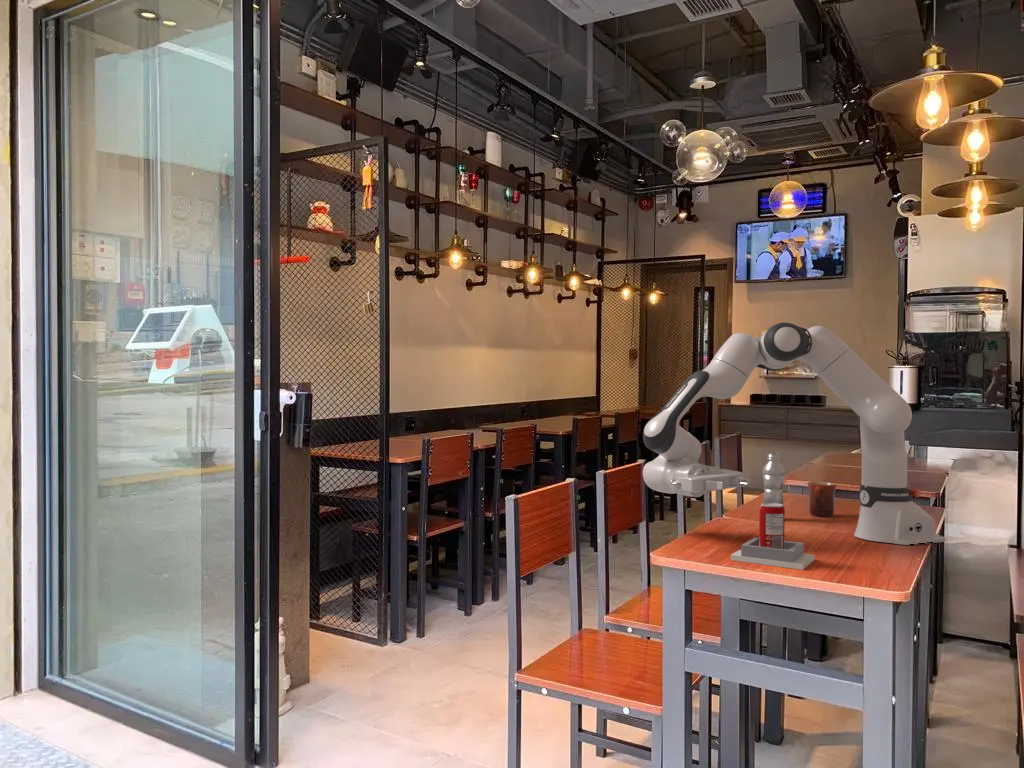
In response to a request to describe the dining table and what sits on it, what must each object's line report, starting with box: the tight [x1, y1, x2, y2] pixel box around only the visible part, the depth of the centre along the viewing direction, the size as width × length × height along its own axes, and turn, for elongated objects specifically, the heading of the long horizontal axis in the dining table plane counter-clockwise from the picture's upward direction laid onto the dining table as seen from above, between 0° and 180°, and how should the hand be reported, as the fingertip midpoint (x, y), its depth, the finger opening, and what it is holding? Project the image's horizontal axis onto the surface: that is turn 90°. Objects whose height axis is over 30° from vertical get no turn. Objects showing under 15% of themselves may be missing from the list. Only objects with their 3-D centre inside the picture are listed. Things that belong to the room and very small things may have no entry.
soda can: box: [758, 502, 786, 549], centre depth 179 cm, size 6×6×12 cm
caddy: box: [730, 537, 815, 571], centre depth 179 cm, size 12×16×4 cm
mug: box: [806, 481, 838, 518], centre depth 242 cm, size 12×9×10 cm
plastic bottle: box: [762, 452, 786, 511], centre depth 236 cm, size 6×7×20 cm
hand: (736, 484), depth 192 cm, fingers open, 8 cm apart
